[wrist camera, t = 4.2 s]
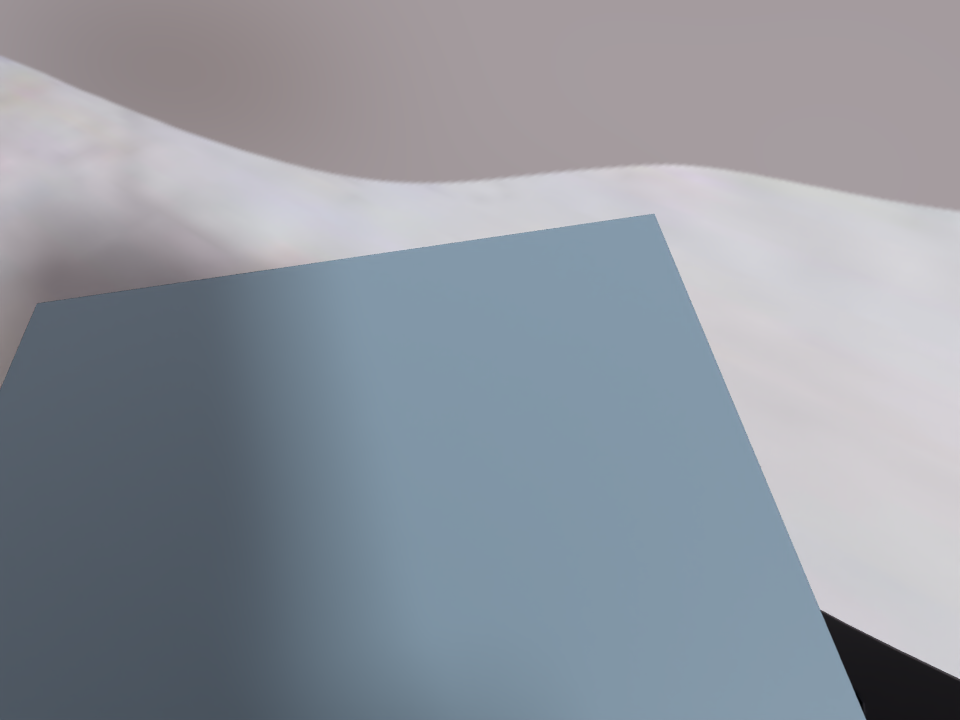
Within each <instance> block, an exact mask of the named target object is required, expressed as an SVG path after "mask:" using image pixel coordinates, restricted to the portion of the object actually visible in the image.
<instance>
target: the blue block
mask: <svg viewBox="0 0 960 720" xmlns="http://www.w3.org/2000/svg"><path fill="white" fill-rule="evenodd" d="M0 720H866V718H865V716H864V713H863V711H862V709H861V706H860V704H859V702H858V699H857V697H856V694H855V692H854V690H853V687H852V685H851V682H850V680H849V678H848V675H847V673H846V670H845V668H844V666H843V663H842V661H841V659H840V656H839V654H838V651H837V649H836V647H835V644H834V642H833V639H832V637H831V635H830V632H829V630H828V627H827V625H826V623H825V620H824V618H823V616H822V613H821V611H820V608H819V606H818V604H817V601H816V599H815V596H814V594H813V592H812V589H811V587H810V585H809V582H808V580H807V577H806V575H805V573H804V570H803V568H802V565H801V563H800V561H799V558H798V556H797V553H796V551H795V549H794V546H793V544H792V542H791V539H790V537H789V534H788V532H787V530H786V527H785V525H784V522H783V520H782V518H781V515H780V513H779V510H778V508H777V506H776V503H775V501H774V499H773V496H772V494H771V491H770V489H769V487H768V484H767V482H766V479H765V477H764V475H763V472H762V470H761V467H760V465H759V463H758V460H757V458H756V456H755V453H754V451H753V448H752V446H751V444H750V441H749V439H748V436H747V434H746V432H745V429H744V427H743V425H742V422H741V420H740V417H739V415H738V413H737V410H736V408H735V405H734V403H733V401H732V398H731V396H730V393H729V391H728V389H727V386H726V384H725V382H724V379H723V377H722V374H721V372H720V370H719V367H718V365H717V362H716V360H715V358H714V355H713V353H712V350H711V348H710V346H709V343H708V341H707V339H706V336H705V334H704V331H703V329H702V327H701V324H700V322H699V319H698V317H697V315H696V312H695V310H694V308H693V305H692V303H691V300H690V298H689V296H688V293H687V291H686V288H685V286H684V284H683V281H682V279H681V276H680V274H679V272H678V269H677V267H676V265H675V262H674V260H673V257H672V255H671V253H670V250H669V248H668V245H667V243H666V241H665V238H664V236H663V233H662V231H661V229H660V226H659V224H658V222H657V219H656V217H655V214H649V215H643V216H636V217H629V218H622V219H615V220H608V221H601V222H594V223H587V224H581V225H574V226H567V227H560V228H553V229H546V230H539V231H532V232H525V233H519V234H512V235H505V236H498V237H491V238H484V239H477V240H470V241H463V242H457V243H450V244H443V245H436V246H429V247H422V248H415V249H408V250H401V251H395V252H388V253H381V254H374V255H367V256H360V257H353V258H346V259H339V260H333V261H326V262H319V263H312V264H305V265H298V266H291V267H284V268H278V269H271V270H264V271H257V272H250V273H243V274H236V275H229V276H222V277H216V278H209V279H202V280H195V281H188V282H181V283H174V284H167V285H160V286H154V287H147V288H140V289H133V290H126V291H119V292H112V293H105V294H98V295H92V296H85V297H78V298H71V299H64V300H57V301H50V302H43V303H37V305H36V307H35V310H34V312H33V314H32V317H31V319H30V321H29V324H28V326H27V328H26V331H25V333H24V335H23V338H22V340H21V342H20V345H19V347H18V349H17V352H16V354H15V356H14V359H13V361H12V363H11V366H10V368H9V370H8V373H7V375H6V377H5V380H4V382H3V384H2V387H1V389H0Z"/></svg>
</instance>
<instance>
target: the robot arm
mask: <svg viewBox="0 0 960 720" xmlns="http://www.w3.org/2000/svg"><path fill="white" fill-rule="evenodd" d="M820 611H821V613H822V616H823V618H824V620H825V623H826V625H827V627H828V630H829V632H830V635H831V637H832V639H833V642H834V644H835V647H836V649H837V651H838V654H839V656H840V659H841V661H842V663H843V666H844V668H845V670H846V673H847V675H848V678H849V680H850V682H851V685H852V687H853V690H854V692H855V694H856V697H857V699H858V702H859V704H860V706H861V709H862V711H863V713H864V716H865V718H866V720H960V679H958V678H956V677H954V676H952V675H950V674H948V673H946V672H944V671H942V670H940V669H938V668H936V667H933V666H931V665H929V664H927V663H925V662H923V661H921V660H919V659H917V658H915V657H913V656H911V655H909V654H906V653H904V652H902V651H900V650H898V649H896V648H894V647H892V646H890V645H888V644H886V643H884V642H882V641H880V640H878V639H876V638H874V637H872V636H870V635H868V634H866V633H864V632H862V631H860V630H858V629H856V628H854V627H852V626H850V625H848V624H846V623H844V622H842V621H841V620H839V619H837V618H835V617H833V616H831V615H829V614H828V613H826V612H824V611H822V610H820Z"/></svg>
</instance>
